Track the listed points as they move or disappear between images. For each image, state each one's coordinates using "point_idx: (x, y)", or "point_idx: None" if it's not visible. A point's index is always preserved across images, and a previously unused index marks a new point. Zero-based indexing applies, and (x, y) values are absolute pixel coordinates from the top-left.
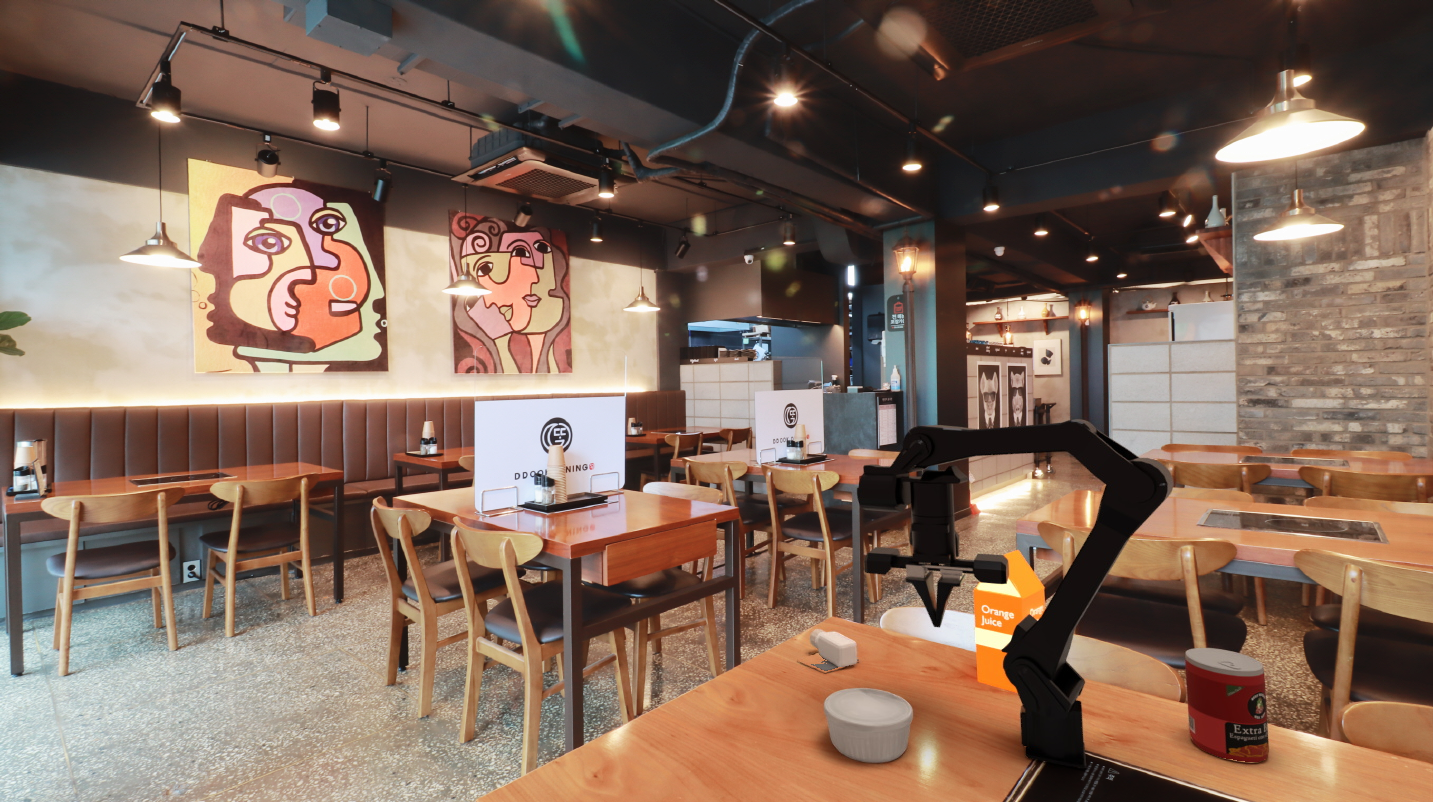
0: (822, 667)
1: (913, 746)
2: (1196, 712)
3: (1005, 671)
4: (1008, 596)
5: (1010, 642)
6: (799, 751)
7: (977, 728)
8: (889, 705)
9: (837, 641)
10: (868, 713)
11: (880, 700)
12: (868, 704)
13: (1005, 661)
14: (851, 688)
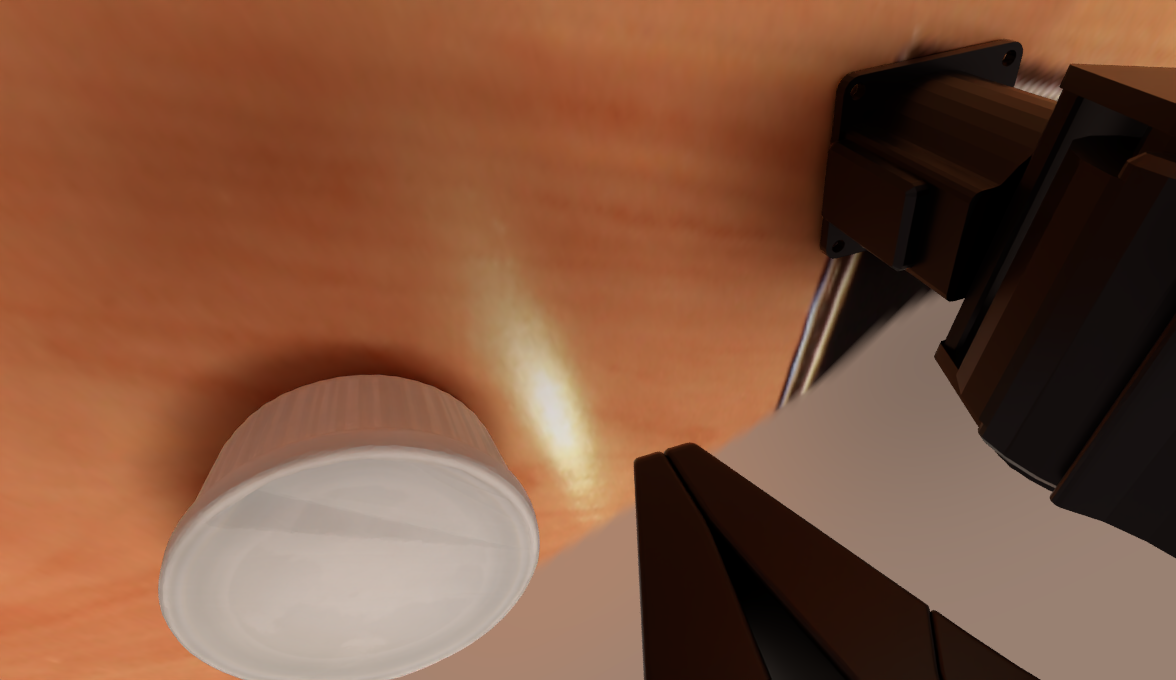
0: None
1: (491, 391)
2: None
3: (976, 409)
4: None
5: (1150, 539)
6: None
7: (652, 126)
8: (424, 515)
9: None
10: (409, 618)
11: (359, 498)
12: (366, 582)
13: (1021, 468)
14: (188, 537)
